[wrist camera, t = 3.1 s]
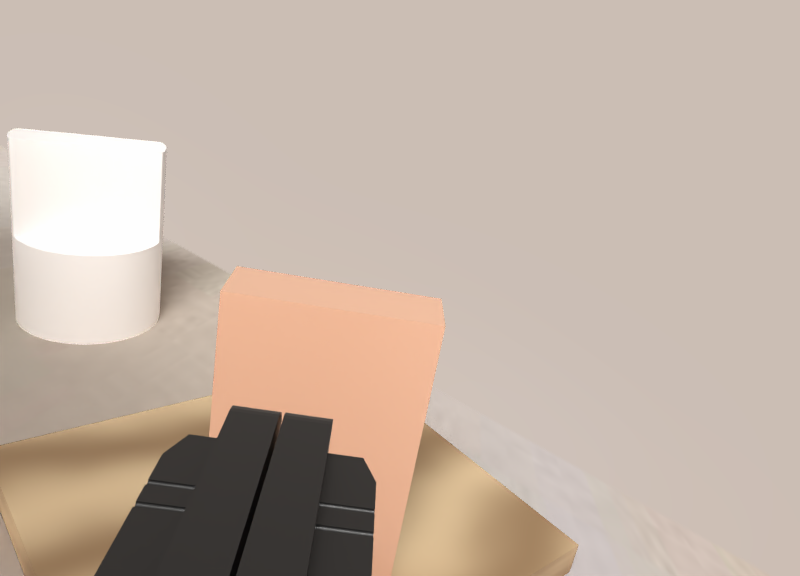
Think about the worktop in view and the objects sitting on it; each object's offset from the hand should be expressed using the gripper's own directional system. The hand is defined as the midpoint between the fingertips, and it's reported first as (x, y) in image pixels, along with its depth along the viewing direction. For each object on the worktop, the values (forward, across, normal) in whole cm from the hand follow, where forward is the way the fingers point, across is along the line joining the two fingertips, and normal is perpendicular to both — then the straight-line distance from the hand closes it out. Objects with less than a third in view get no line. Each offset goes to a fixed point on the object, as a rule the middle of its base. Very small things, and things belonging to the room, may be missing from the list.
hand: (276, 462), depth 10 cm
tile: (+12, 0, +14) cm, 18 cm away
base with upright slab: (+34, +17, +15) cm, 41 cm away
